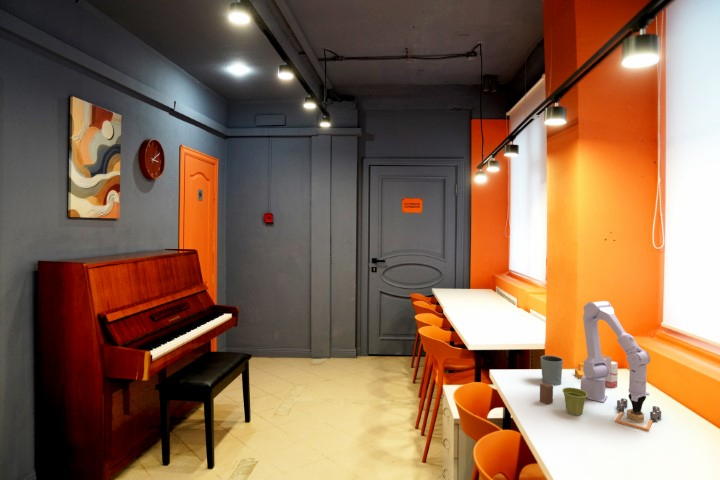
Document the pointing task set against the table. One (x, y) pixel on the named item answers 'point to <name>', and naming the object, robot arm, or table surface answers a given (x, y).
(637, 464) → the table surface
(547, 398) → the wooden block
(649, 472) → the table surface
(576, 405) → the plant pot
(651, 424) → the orange bay
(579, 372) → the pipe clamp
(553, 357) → the grey bucket
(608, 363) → the ink cartridge box
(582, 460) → the table surface
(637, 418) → the brass nut
